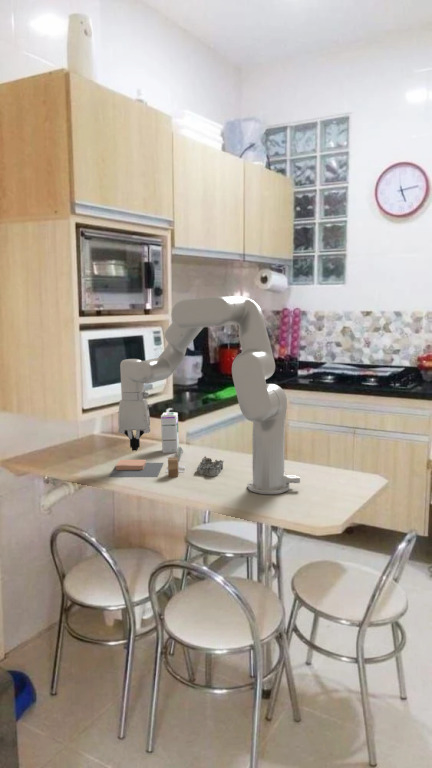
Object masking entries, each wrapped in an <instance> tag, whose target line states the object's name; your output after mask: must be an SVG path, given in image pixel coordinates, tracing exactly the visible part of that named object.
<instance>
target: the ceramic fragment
mask: <svg viewBox="0 0 432 768" xmlns="http://www.w3.org/2000/svg"><path fill="white" fill-rule="evenodd" d="M183 453H184V450H183V448H182V447H181V446H179V448H178V450H177V452H173V454H171V455H169V456H168V457H167V460H168V459H169V457H178V463H179V462H180V460H181V456H182V454H183Z"/></svg>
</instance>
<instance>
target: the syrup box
mask: <svg viewBox="0 0 432 768" xmlns="http://www.w3.org/2000/svg"><path fill="white" fill-rule="evenodd" d="M178 415H179V413H178V412H176V411H175V412H174V411H168V412H163V413H162V414H161V415H160V424H161V425H160V426H161V445H162V446H161V448H162V453H177V450H178V448H179V447H180V435H179V434H180V433H179V416H178Z"/></svg>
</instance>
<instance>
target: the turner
mask: <svg viewBox="0 0 432 768" xmlns="http://www.w3.org/2000/svg"><path fill="white" fill-rule="evenodd" d="M168 457H169V456H168ZM185 470H186V465H179V462H178V457H169V459H168V458H167V467H166V470H165V473H167V476H168V478H178V477H179V474H180V473H185Z"/></svg>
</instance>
